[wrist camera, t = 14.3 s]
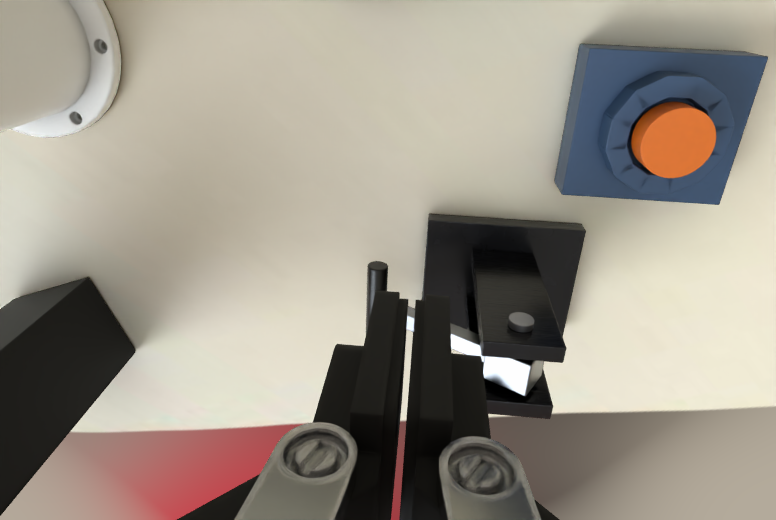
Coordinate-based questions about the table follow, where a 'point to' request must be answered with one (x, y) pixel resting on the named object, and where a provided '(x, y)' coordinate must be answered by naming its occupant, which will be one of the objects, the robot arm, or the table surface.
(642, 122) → the button
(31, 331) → the tissue box
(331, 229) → the table surface
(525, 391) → the lever
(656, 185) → the control block
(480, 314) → the lever bracket
